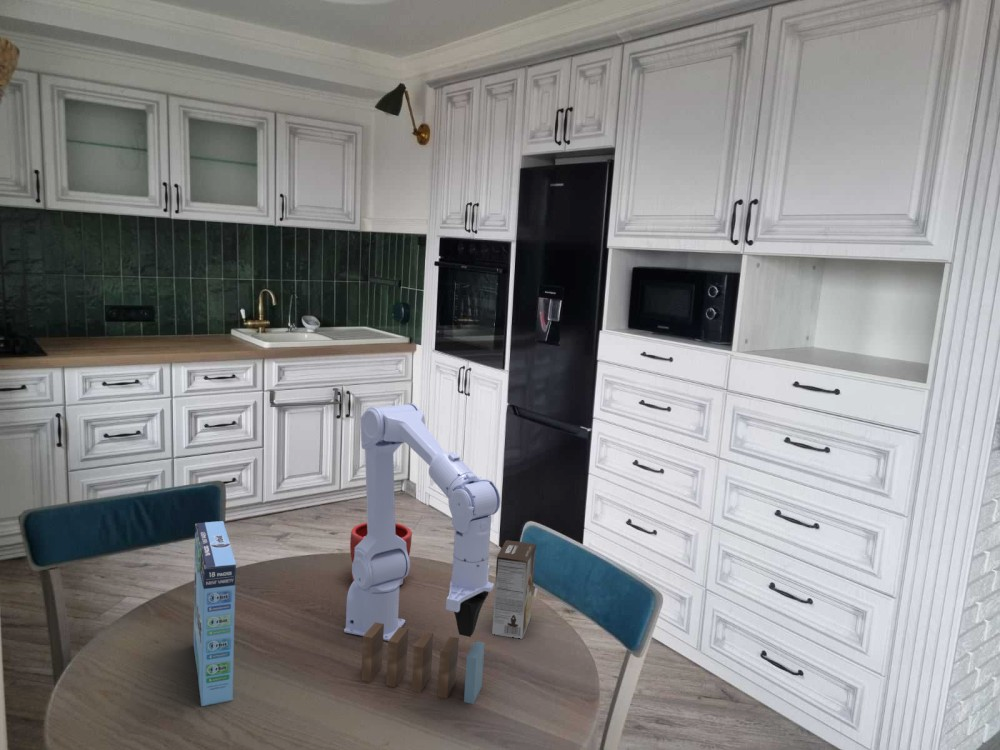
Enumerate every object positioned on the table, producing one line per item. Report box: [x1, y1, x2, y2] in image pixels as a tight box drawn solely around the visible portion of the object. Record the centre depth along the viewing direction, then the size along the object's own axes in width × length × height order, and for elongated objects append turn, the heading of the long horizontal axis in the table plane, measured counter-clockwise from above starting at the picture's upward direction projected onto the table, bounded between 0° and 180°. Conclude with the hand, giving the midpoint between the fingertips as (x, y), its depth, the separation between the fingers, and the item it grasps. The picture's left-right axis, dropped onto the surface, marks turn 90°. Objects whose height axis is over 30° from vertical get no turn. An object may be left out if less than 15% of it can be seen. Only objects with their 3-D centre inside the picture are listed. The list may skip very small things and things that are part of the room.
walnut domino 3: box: [411, 631, 434, 694], centre depth 120 cm, size 2×5×8 cm, turn 166°
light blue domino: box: [463, 641, 485, 705], centre depth 118 cm, size 2×5×8 cm, turn 166°
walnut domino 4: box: [437, 635, 460, 699], centre depth 119 cm, size 2×5×8 cm, turn 166°
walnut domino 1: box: [360, 622, 384, 683], centre depth 122 cm, size 2×5×8 cm, turn 166°
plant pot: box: [349, 522, 413, 582], centre depth 157 cm, size 13×13×12 cm
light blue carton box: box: [193, 520, 237, 708], centre depth 119 cm, size 20×5×23 cm, turn 26°
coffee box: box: [491, 539, 537, 640], centre depth 141 cm, size 9×6×16 cm
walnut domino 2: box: [385, 626, 409, 688], centre depth 121 cm, size 2×5×8 cm, turn 166°
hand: (466, 633), depth 118 cm, fingers closed
